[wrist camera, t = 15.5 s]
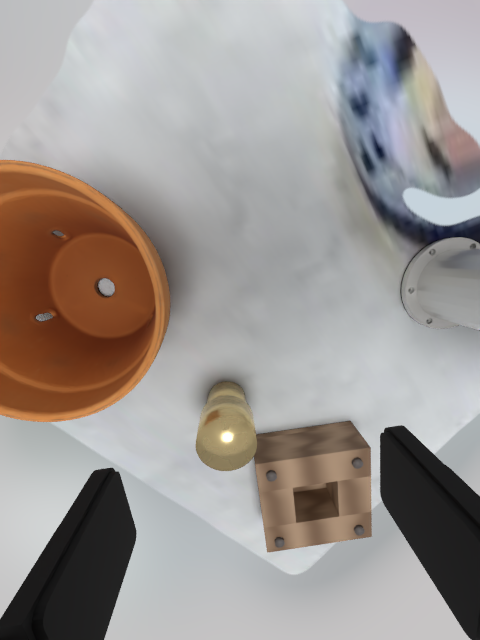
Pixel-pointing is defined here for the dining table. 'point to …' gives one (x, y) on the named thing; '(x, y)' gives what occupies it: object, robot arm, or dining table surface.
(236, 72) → the dining table surface
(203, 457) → the yellow translucent cylinder
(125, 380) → the flower pot
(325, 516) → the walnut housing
